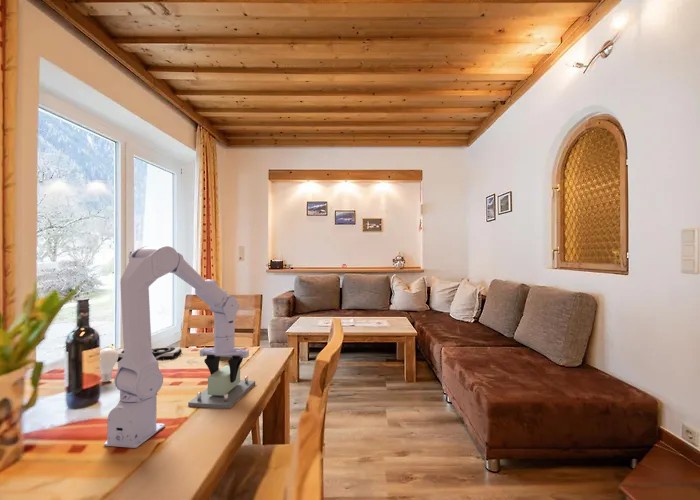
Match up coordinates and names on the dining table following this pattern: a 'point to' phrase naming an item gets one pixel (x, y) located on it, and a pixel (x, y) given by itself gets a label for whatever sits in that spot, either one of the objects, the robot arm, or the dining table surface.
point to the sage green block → (222, 381)
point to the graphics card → (157, 353)
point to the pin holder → (219, 400)
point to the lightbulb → (107, 363)
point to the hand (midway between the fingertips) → (224, 380)
